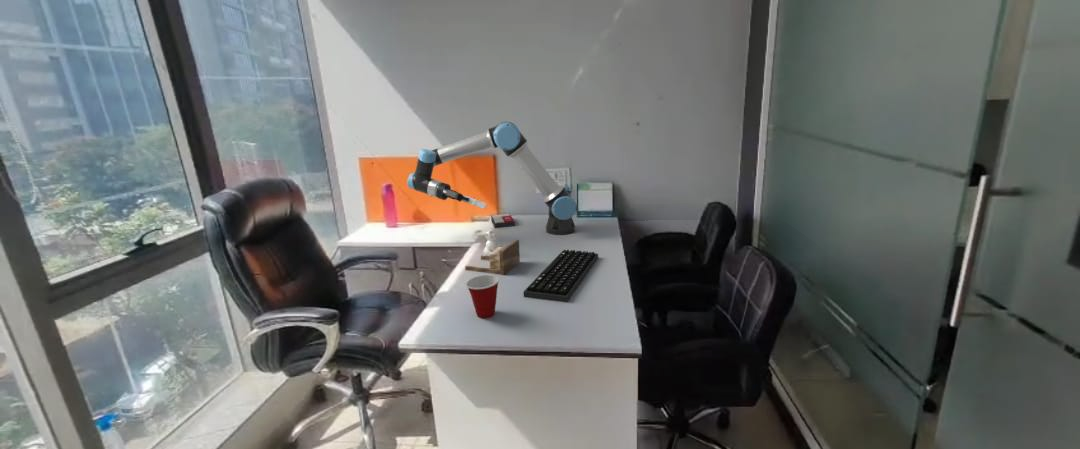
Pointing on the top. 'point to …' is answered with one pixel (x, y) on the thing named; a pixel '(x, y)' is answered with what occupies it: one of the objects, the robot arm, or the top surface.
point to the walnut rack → (502, 260)
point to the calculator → (502, 220)
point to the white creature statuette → (490, 243)
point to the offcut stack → (495, 259)
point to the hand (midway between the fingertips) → (481, 204)
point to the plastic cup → (483, 294)
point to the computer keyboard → (562, 276)
